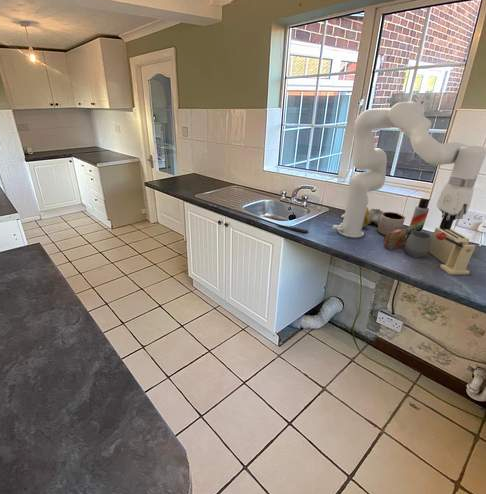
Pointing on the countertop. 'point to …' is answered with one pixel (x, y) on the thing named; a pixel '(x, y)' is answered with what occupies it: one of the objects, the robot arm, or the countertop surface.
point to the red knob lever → (448, 239)
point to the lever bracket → (459, 259)
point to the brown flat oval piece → (395, 238)
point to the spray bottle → (419, 216)
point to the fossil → (375, 216)
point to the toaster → (444, 244)
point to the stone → (366, 218)
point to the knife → (295, 229)
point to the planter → (390, 222)
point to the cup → (418, 244)
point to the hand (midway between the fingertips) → (444, 228)
